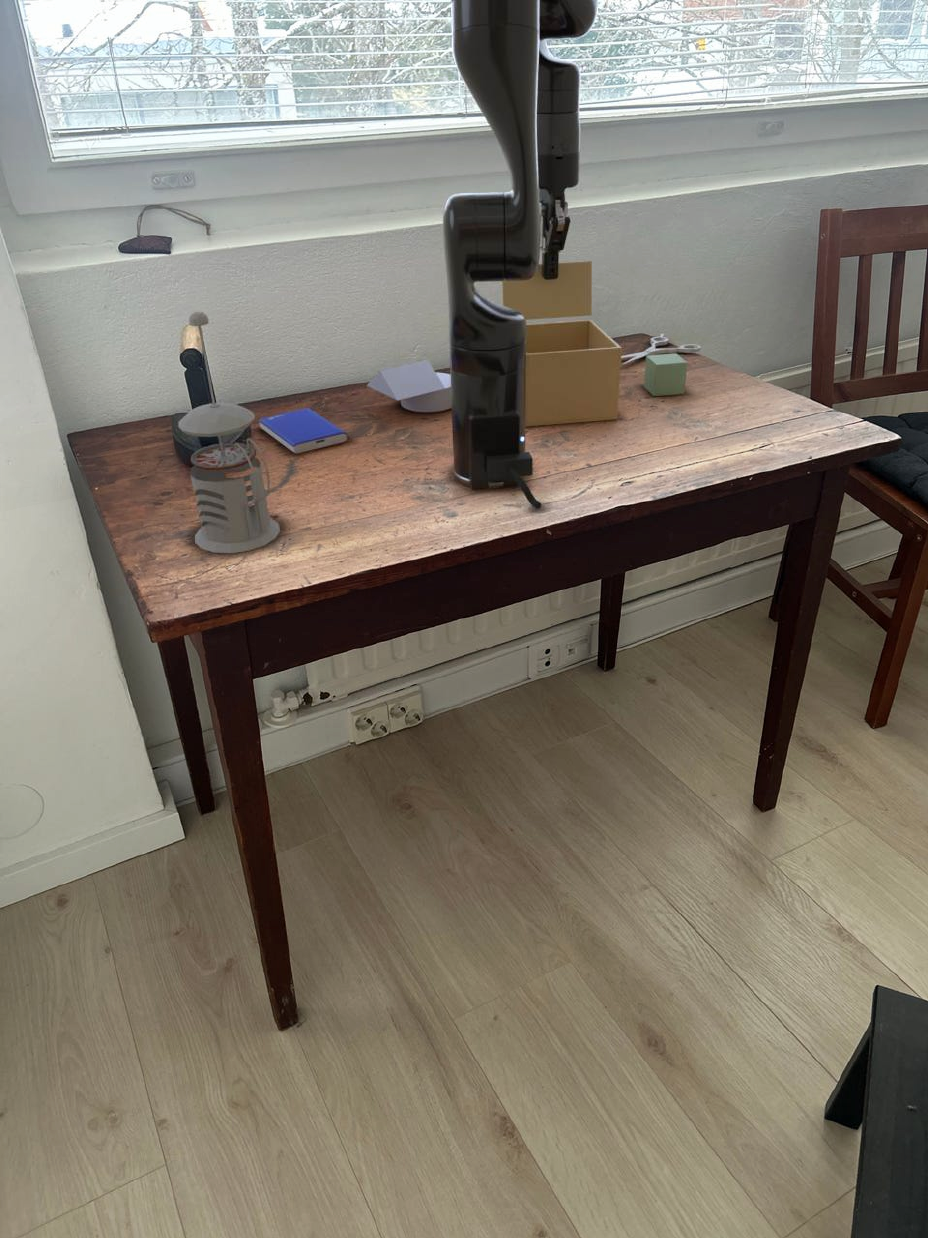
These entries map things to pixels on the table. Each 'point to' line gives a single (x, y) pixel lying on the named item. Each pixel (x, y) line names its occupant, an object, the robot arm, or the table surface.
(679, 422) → the table surface
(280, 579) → the table surface
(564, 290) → the flap
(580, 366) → the carton
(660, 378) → the block
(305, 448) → the hard drive
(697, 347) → the scissors
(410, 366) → the wedge on round base
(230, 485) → the french press
